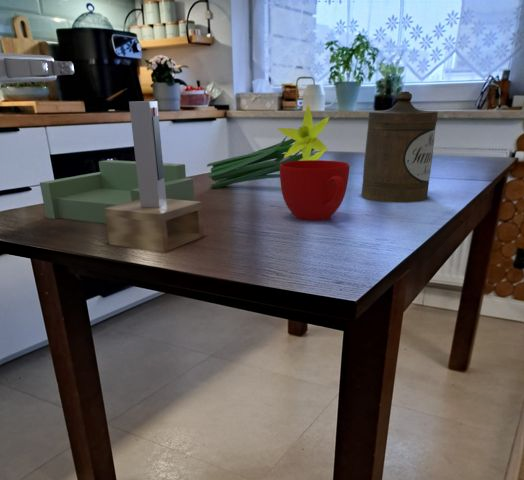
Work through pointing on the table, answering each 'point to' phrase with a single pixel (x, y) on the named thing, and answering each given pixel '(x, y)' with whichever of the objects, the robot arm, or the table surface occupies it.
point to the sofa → (107, 190)
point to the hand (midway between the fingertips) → (59, 67)
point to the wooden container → (399, 152)
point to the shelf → (154, 224)
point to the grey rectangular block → (148, 153)
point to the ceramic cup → (313, 187)
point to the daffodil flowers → (271, 155)
